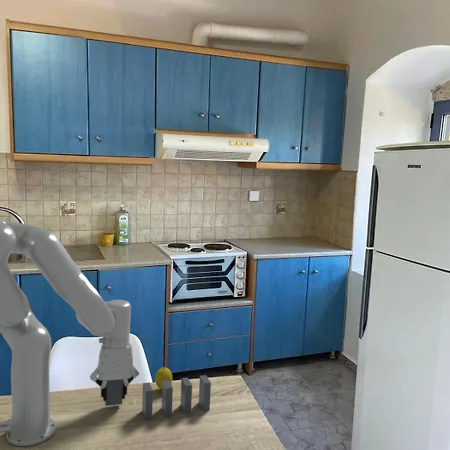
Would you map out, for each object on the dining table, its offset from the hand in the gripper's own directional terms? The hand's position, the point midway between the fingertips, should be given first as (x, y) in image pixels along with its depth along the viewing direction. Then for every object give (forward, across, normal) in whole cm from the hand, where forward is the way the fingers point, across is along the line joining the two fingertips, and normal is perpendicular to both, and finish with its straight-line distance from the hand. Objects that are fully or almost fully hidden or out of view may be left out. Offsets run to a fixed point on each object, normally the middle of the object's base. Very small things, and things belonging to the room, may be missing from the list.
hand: (113, 397), depth 140 cm
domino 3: (+3, +15, -7) cm, 17 cm away
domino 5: (+2, +27, -7) cm, 28 cm away
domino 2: (+3, +9, -7) cm, 12 cm away
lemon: (+3, +17, +6) cm, 18 cm away
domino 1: (+2, 0, 0) cm, 2 cm away
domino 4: (+2, +21, -7) cm, 22 cm away
